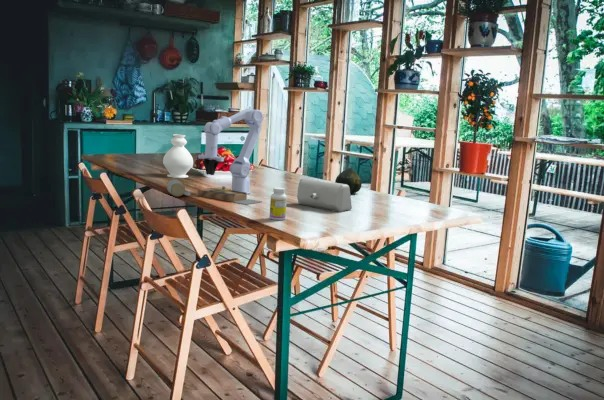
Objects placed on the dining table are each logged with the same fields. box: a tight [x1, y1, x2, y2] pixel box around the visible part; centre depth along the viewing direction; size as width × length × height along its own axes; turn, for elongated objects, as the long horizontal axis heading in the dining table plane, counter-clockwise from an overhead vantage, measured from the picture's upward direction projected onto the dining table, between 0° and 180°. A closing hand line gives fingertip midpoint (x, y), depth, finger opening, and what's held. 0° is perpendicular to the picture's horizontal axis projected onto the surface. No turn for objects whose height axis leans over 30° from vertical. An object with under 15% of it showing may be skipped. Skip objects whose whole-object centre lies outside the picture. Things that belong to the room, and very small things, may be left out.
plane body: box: [197, 187, 248, 203], centre depth 274 cm, size 22×10×4 cm, turn 59°
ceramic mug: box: [166, 178, 191, 198], centre depth 272 cm, size 11×8×8 cm
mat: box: [233, 198, 263, 206], centre depth 267 cm, size 12×8×1 cm, turn 149°
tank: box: [296, 177, 353, 213], centre depth 265 cm, size 25×16×12 cm, turn 54°
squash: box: [334, 167, 363, 195], centre depth 318 cm, size 14×15×15 cm
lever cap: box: [213, 186, 232, 193], centre depth 274 cm, size 7×5×3 cm
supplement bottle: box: [269, 187, 288, 221], centre depth 231 cm, size 7×7×13 cm
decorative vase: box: [162, 133, 194, 179], centre depth 337 cm, size 18×18×25 cm
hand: (210, 174), depth 277 cm, fingers closed
